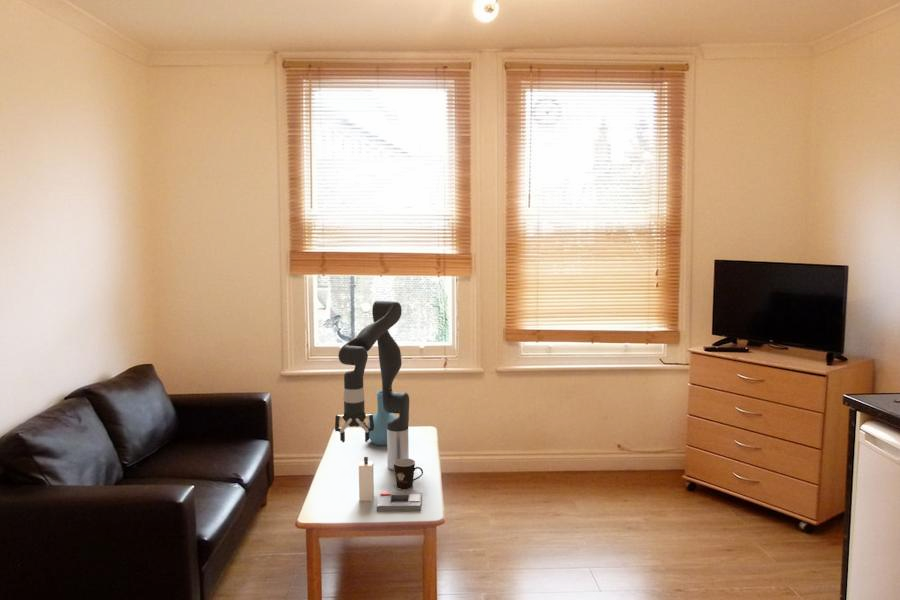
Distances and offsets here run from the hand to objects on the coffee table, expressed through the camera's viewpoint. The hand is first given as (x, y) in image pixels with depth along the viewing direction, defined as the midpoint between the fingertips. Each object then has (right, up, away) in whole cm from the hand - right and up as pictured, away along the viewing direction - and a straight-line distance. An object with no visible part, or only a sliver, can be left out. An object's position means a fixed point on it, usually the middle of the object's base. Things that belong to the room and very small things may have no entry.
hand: (354, 441), depth 228 cm
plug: (+3, -24, +7) cm, 25 cm away
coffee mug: (+18, -23, +17) cm, 34 cm away
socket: (+16, -24, +2) cm, 29 cm away
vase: (+3, -17, +70) cm, 73 cm away
